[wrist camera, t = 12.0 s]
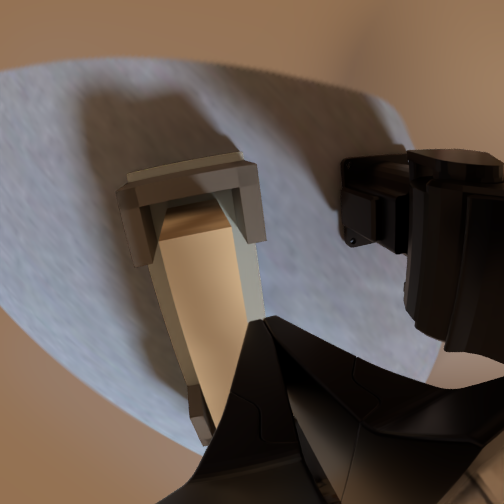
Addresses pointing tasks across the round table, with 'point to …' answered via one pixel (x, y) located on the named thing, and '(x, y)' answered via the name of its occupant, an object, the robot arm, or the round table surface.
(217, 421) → the slat
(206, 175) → the slat rail
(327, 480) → the supplement bottle
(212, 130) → the round table surface
